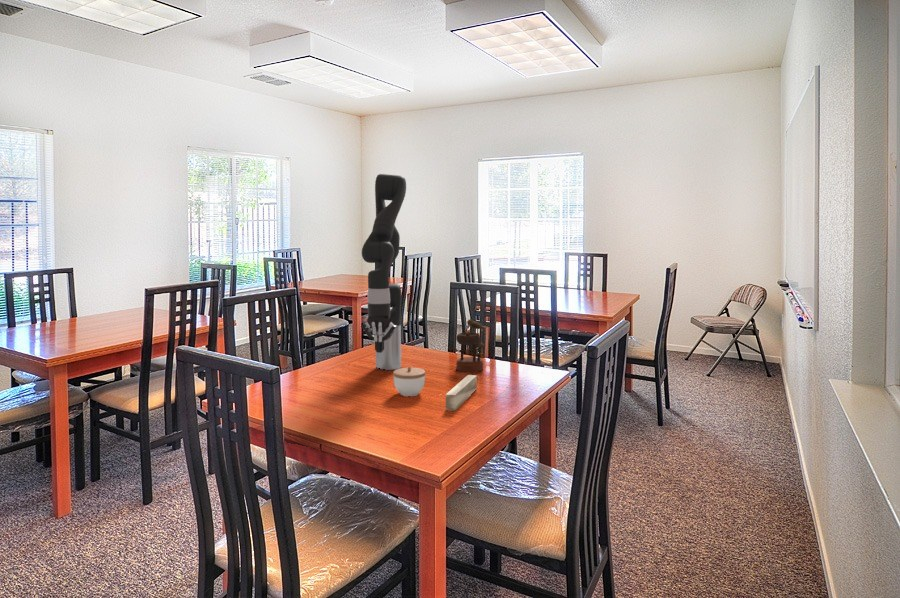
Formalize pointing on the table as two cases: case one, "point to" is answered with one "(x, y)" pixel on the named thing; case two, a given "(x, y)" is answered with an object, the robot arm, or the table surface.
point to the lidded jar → (409, 380)
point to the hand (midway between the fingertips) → (379, 352)
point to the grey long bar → (461, 392)
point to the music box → (469, 339)
